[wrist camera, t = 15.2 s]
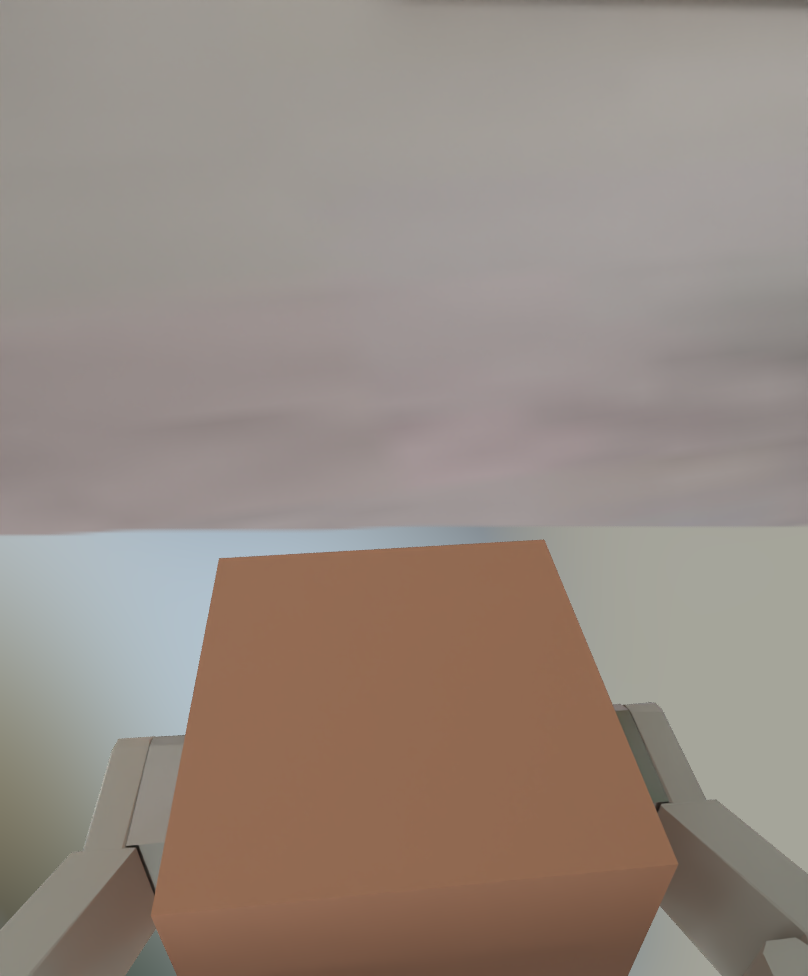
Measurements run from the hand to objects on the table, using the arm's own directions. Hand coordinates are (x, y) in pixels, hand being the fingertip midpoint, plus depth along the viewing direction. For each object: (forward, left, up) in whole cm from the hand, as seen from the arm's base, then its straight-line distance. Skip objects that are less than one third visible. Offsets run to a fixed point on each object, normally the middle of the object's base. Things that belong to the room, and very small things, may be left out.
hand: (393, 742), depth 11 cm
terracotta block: (0, 0, -2) cm, 2 cm away
